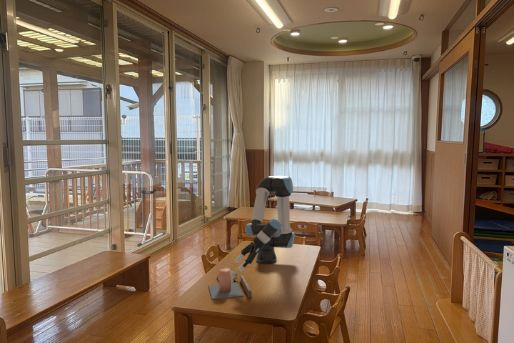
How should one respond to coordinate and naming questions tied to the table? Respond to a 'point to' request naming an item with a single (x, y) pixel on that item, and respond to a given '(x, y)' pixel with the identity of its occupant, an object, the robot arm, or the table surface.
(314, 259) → the table surface
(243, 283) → the wooden plank
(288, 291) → the table surface
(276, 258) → the robot arm
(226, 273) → the pink rounded cylinder
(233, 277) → the turtle
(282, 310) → the table surface
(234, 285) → the mat
